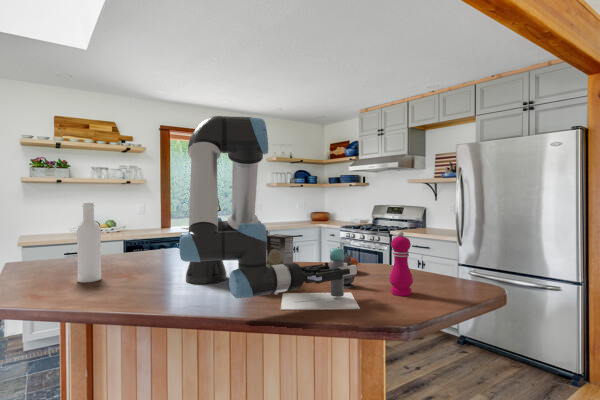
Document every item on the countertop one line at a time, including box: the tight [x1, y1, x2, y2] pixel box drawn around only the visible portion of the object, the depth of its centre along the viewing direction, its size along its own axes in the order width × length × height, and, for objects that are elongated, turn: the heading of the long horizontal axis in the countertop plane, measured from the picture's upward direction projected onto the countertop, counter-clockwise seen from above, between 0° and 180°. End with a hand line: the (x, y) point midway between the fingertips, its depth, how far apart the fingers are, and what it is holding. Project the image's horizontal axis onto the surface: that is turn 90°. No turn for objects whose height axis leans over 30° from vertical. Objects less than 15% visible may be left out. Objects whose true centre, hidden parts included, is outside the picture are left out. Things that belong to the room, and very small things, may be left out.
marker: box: [329, 247, 345, 297], centre depth 109 cm, size 4×4×14 cm
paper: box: [280, 291, 361, 311], centre depth 107 cm, size 22×16×1 cm
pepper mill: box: [389, 231, 414, 297], centre depth 114 cm, size 7×7×20 cm
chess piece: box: [344, 251, 356, 289], centre depth 124 cm, size 6×6×12 cm
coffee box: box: [266, 233, 294, 266], centre depth 142 cm, size 9×6×16 cm
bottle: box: [76, 201, 102, 283], centre depth 137 cm, size 8×8×30 cm
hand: (350, 268), depth 112 cm, fingers closed on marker, 4 cm apart
